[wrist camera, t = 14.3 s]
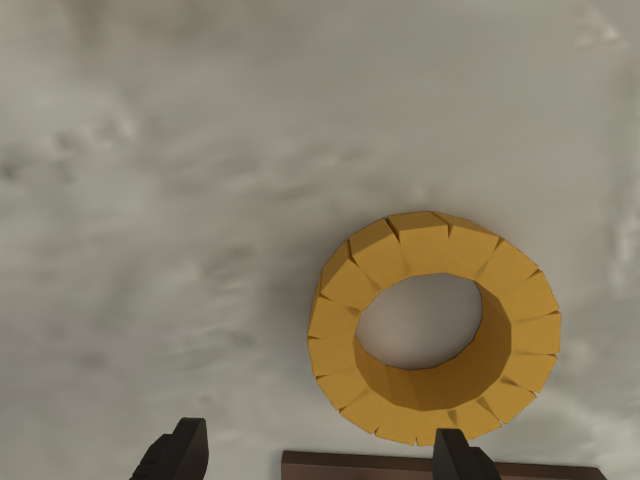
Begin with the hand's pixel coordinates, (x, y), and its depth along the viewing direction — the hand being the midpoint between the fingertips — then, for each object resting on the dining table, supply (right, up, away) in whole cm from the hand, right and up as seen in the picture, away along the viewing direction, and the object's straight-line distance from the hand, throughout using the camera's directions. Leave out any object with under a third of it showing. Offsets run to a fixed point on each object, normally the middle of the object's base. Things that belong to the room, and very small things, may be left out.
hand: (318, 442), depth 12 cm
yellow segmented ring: (+6, +2, +9) cm, 11 cm away
